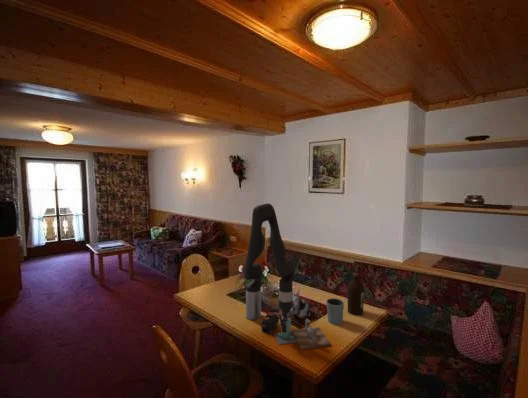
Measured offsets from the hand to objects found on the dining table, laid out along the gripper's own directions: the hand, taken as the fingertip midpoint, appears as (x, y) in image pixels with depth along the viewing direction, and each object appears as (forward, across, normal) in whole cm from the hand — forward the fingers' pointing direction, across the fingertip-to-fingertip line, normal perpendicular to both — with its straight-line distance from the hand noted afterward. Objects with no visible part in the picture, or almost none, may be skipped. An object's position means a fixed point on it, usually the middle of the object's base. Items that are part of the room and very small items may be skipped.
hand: (285, 328), depth 150 cm
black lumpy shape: (+6, -6, -11) cm, 14 cm away
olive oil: (+5, -43, +35) cm, 56 cm away
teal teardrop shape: (+5, 0, 0) cm, 5 cm away
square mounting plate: (+5, -4, +13) cm, 14 cm away
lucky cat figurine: (+6, -28, +2) cm, 29 cm away
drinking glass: (+5, -27, +24) cm, 37 cm away
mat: (+5, 0, 0) cm, 5 cm away
